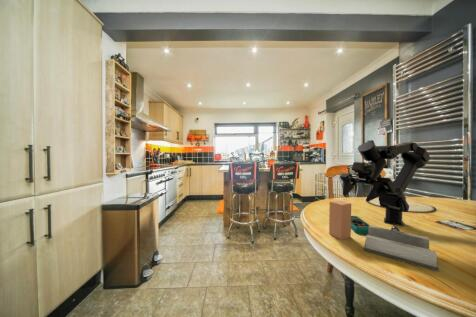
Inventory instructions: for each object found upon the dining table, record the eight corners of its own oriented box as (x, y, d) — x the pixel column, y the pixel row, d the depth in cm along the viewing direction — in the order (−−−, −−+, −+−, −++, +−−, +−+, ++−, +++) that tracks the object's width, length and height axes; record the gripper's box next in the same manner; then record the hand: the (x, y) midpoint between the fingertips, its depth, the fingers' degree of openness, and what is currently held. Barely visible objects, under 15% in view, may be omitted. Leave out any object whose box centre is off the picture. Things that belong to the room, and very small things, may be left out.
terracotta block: (338, 231, 70) (338, 200, 70) (350, 237, 66) (351, 203, 66) (329, 233, 69) (329, 201, 68) (341, 239, 64) (341, 204, 64)
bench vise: (368, 230, 72) (368, 219, 72) (425, 242, 62) (426, 229, 62) (363, 250, 57) (364, 236, 57) (439, 271, 47) (439, 254, 46)
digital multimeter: (356, 235, 69) (356, 227, 68) (340, 220, 83) (340, 214, 83) (377, 236, 67) (377, 228, 67) (357, 221, 82) (357, 215, 82)
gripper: (342, 155, 80) (324, 180, 76) (391, 155, 63) (371, 188, 59) (354, 172, 83) (337, 197, 79) (404, 176, 66) (385, 209, 62)
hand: (354, 198), depth 70 cm, fingers open, 9 cm apart
